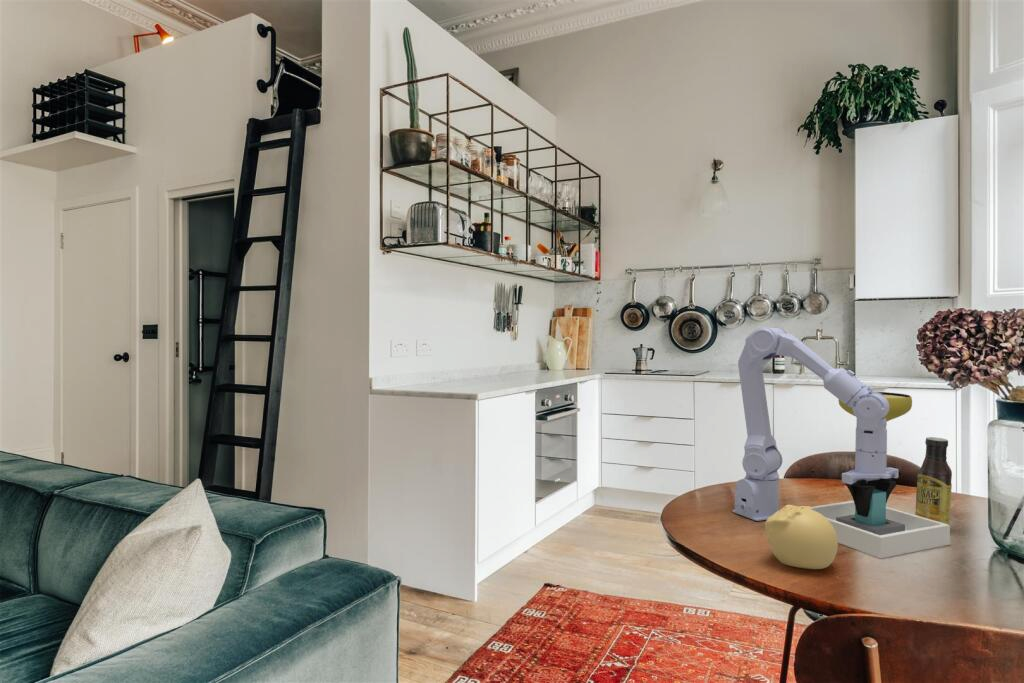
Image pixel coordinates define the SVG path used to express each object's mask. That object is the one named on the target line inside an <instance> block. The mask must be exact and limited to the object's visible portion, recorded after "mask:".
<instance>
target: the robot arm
mask: <svg viewBox="0 0 1024 683" xmlns="http://www.w3.org/2000/svg"><path fill="white" fill-rule="evenodd" d="M744 340H745V344H744V346H743V349H742V351H741V354H740V356H739V357H738V358H739V359H738V362H737V366H738V367H737V368H738V373H739V380H740V381H739V382H740V389H741V396H742V403H743V411H744V420H745V426H746V433H747V437H746V440H745V443H744V445H743V446H744V455H743V458H742V461H741V462H742V463H741V464H742V468H743V470H744V472H745V476H744V478H741V479H739V480H737V481H736V483H735V487H734V509H732V513H734V514H737V515H740V516H742V517H745V518H748V519H751V520H753V521H756V522H759V521H761V522H762V521H766V520H767V519H768V518H769V517H770V516H772V515H774V514H775V512H777V511H779V510H780V508H779V507H780V505H779V504H780V489H779V488H780V475H779V473H778V470H779V469H780V468H781V467H782V465H783V457H782V456H783V455H782V453H781V452H780V451H779V449H778V447H777V441H776V439H775V438H774V437H773V434H772V430H771V421H770V416H769V409H768V408H769V406H768V402H767V401H768V400H767V394H766V386H765V379H764V371H763V368H764V367H765V366H766V365H767V364H768V362H770V360H771V359H773V358H774V357H776V356H781V357H789V358H793V359H794V360H795V361H797V362H798V363H799V364H801V365H802V366H803V367H805V368H806V369H808V370H810V372H812V373H813V374H815V375H816V376H817V377H819V378H820V379H821V380H822V381H823V388H824V389H825V390H827V391H828V392H829V393H830V394H831V395H832V396H834V397H836V399H838V401H839V400H840V401H842V402H843V403H844V404H845V405H847V406H848V407H851V408H852V410H853V413H854V415H855V416H856V417H855V416H854V415H853V416H854V417H855V418H856V425H855V426H856V427H855V450H854V453H855V454H854V455H855V458H854V461H855V463H854V464H855V465H854V467H855V468H853V469H851V470H849V471H847V472H842V473H841V483H844V484H845V485H846V487H847V488H848V490H849V493H850V495H851V498H852V501H854V503H855V507H856V511H857V515H861V516H864V517H868V514H869V510H870V501H871V497H872V494H873V491H874V489H877V490H880V491H884V492H886V504H887V503H888V500H889V497H890V496H891V493H892V492H893V490H894V489H895V488H896V486H897V482H896V481H895V480H892V479H898V478H899V471H900V470H899V468H894V467H890V466H889V467H887V462H888V459H887V457H888V456H887V455H888V454H887V453H888V450H887V449H888V429H887V425H888V424H887V422H888V421H887V422H886V418H883V417H885V416H886V415H887V414H888V412H889V408H890V406H889V402H888V400H887V399H886V398H885V397H884V396H883V394H881V393H879V392H880V391H874V387H872V385H869V386H867V385H866V384H865V383H863V382H862V381H860V379H858V378H857V377H856V376H854V375H855V374H856V373H855V372H854V371H852V370H851V369H848V370H846V369H845V368H842V367H841V368H834V367H832V366H831V365H830V364H829V363H827V361H825V360H824V359H823V358H821V357H820V356H819V355H818V354H817V353H816V352H814V351H813V350H812V349H811V348H810V347H808V346H807V345H806V344H804V342H802V341H801V340H800V339H798V338H797V337H796V336H795V335H793V334H791V333H788V332H787V331H786V330H785V329H784V328H782V327H778V326H773V327H768V326H767V327H766V326H760V327H757V328H755V329H753V331H752V332H750V334H749V335H748V336H746V337H745V339H744ZM882 418H883V419H882ZM866 481H867V483H866Z"/></svg>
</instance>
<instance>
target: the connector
mask: <svg viewBox="0 0 1024 683" xmlns="http://www.w3.org/2000/svg"><path fill="white" fill-rule="evenodd" d="M886 507H887V503H886V492H884V491H880V490H877V489H874V491H873V494H872V497H871V501H870V510H869V514H868V517H864V516H861V515H857V511H856V507H855V521H858V522H861V523H864V524H867V525H870V526H878V525H883V524H886Z"/></svg>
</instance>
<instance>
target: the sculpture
mask: <svg viewBox="0 0 1024 683" xmlns="http://www.w3.org/2000/svg"><path fill="white" fill-rule="evenodd" d="M811 507H812V506H811V505H806V506H805V505H801V506H800V505H799V506H797V505H794V504H786V505H784V506H783V507H781V508H779V511H777V512H775V514H774V515H772V516H770V517H769V518H768V519H767V520H765V524H764V526H765V528H764V529H765V537H766V541H767V542H768V544H769V546H770V549H771V551H772V553H773V554H774V556H775V557H776V559H777V560H778V561H779V562H780V563H781V564H783V565H785V566H789V567H795V568H800V569H808V570H823V569H826V568H828V567H829V566H830V565H831V564H832V563H833V562H834V560H835V558H836V555H837V553H838V546H839V543H838V539H837V534H836V531H835V529H834V527H833V525H832V524H831V523H830V521H829V520H828V519H827V518H826V517H824V516H823V515H822V514H820V513H818V512H816V511H814V510H812V509H811Z"/></svg>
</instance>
